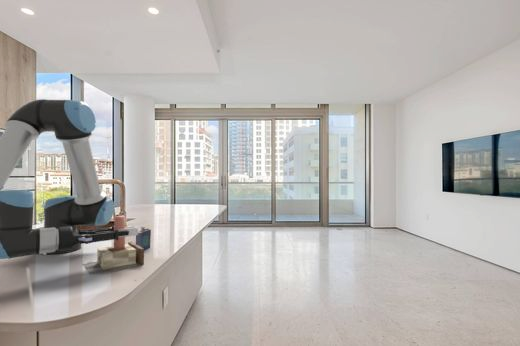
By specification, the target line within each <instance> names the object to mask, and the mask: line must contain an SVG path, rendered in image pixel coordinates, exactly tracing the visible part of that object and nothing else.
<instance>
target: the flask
mask: <svg viewBox="0 0 520 346" xmlns="http://www.w3.org/2000/svg"><path fill="white" fill-rule="evenodd" d="M151 233H152V229H150V228H146V227H145V226H141V227H140V231H139V230H138V235H135V244H137V245H138V246H140V247H142V248H144V251H145V250H148V249H151V236H152V234H151Z"/></svg>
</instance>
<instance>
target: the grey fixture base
mask: <svg viewBox="0 0 520 346" xmlns="http://www.w3.org/2000/svg"><path fill="white" fill-rule="evenodd" d="M127 244H128V245H130V246H131V247H133V248H135V249H136V264H131V265H126V266H121V267H116V268H110V269H105V270H104V269H103V268H102V267H101V266H100V265H99V264H98V263H97V261H93V262H87V263H82V266H83V268H85V270H86V271H87V273H88V274H89V275H90V276H93V275H98V274H103V273H108V272H112V271H118V270H123V269H127V268H133V267H137V266H142V265H145V264H144V263H145V250H144V248H142V247H140V246H138V245H137V244H136V242H133V241H129V242H128V243H127Z"/></svg>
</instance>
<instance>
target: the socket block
mask: <svg viewBox="0 0 520 346" xmlns="http://www.w3.org/2000/svg"><path fill="white" fill-rule="evenodd" d="M96 253H97V255H96V256H97V259H96V262H97V263H98V264H99V265H100V266H101V267H102V268H103V269H104V270H105V269H110V268H116V267H121V266H126V265H131V264H136V249H135V248H133V247H131V246H130V245H128V243H125V249H124V250H118V251H114V245H112V246H106V247H99V248H97V252H96Z"/></svg>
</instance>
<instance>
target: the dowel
mask: <svg viewBox="0 0 520 346" xmlns="http://www.w3.org/2000/svg"><path fill="white" fill-rule="evenodd" d="M113 223H114V224H113V226H114V231H116V230H118V229H125V227H126V216H125V215H117V216H114V221H113ZM125 245H126V237H119V238H118V240H116V239H113V246H114V251H118V250H124V249H125Z"/></svg>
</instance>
